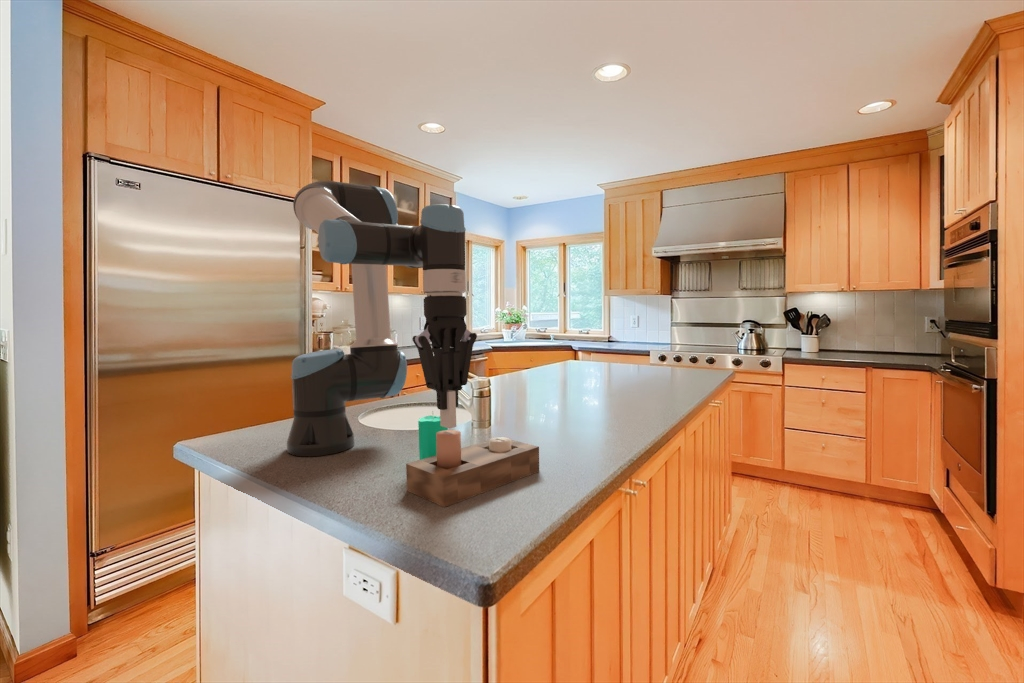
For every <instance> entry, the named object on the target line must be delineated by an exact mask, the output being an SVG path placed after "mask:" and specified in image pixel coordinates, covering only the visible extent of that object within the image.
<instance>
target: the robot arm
mask: <svg viewBox="0 0 1024 683" xmlns="http://www.w3.org/2000/svg"><path fill="white" fill-rule="evenodd" d="M395 200H396V199H395V197H394V196H393V194H392V193H391V192H390V191H389V190H388V189H387V188H383V187H379V186H375V185H371V184H370V185H367V184H358V183H350V182H342V181H336V180H335V181H333V180H320V181H319V180H318V181H313V182H311V183H309V184H306V185H305V186H303V187H302V188H300V189H299V190H298V191H297V193H296V194H295V196H294V198H293V203H292V205H293V212H294V215H295V217H296V218H297V219H298V221H299V222H300V223H301V224H302V225H303V226H304V227H306V228H307V229H310V230H312V231H315V232H316V234H317V236H318V244H317V245H318V251H319V252H320V253H319V254H320V257H321V259H322V260H323V261H325V262H326V263H333V264H334V263H335V264H340V265H351V277H352V279H351V280H352V296H353V310H354V326H355V327H354V330H355V341H354V342H353V343H352V344H351V345H350V347H349V350H350V353H349V354H345V352H344V350H343V349H341V348H331V349H325V350H316V351H312V352H308V353H304V354H300V355H298V356H296V357H295V358H294V359H293V360H292V363H291V375H290V378H291V382H292V385H291V386H292V407H293V408H292V409H293V420H292V424H291V427H290V431H289V435H288V437H287V440H286V452H287V453H288V454H289V453H290V454H289V455H291V454H292V456H295V455H296V456H297V457H320V456H328V455H332V454H337V453H341V452H344V451H347V450H349V449H351V448H353V447H354V446H355V435H354V432H353V429H352V427H351V424H350V422H349V419H348V417H347V414H346V403H347V402H354V401H356V402H357V401H362V400H363V401H364V400H365V401H366V400H371V399H372V400H373V399H386V398H387V397H395V396H397V395H398V394H400V393H402V392H401V391H402V390H403V388H404V387H405V383H406V380H407V375H408V363H407V359H406V354H405V353H404V352H403V351H401V350H399V348H398V344H397V342H396V341H395V340H393V338H392V336H391V321H390V320H391V319H390V303H389V301H390V300H389V287H388V286H389V285H388V270H387V266H399V267H400V266H402V267H404V266H405V267H406V268H411V269H414V268H416V269H422V293H424V294H426V296H424V298H423V316H424V317H425V323H424V327H423V331H422V332H420V334H418V335H413V336H412V342H413V344H414V345H415V347H416V349H417V352H418V356H419V359H420V364H421V369H422V373H423V376H424V382H425V385H426V389H431V390H433V391H435V392H436V408H437V409H438V410H439V417H440V426H442V427H446V428H448V429H453V428H457V408H458V407H459V391H462V390H463V386H466V385H467V384H468V378H469V373H470V366H471V362H472V361H471V360H472V355H473V349H474V344H475V342H476V339H477V337H478V334H477V333H476V332H471V331H469V329H467V324H466V321H465V317H466V315H467V314H468V313H467V310H468V309H467V298H466V296H465V295H464V296H463V294H465V293H466V292H467V280H466V276H467V275H466V273H467V272H466V227H465V216H464V211H463V209H462V208H461V207H460V206H457V205H453V204H445V203H444V204H443V203H442V204H441V203H437V204H429V205H426V206H424V207H423V208H422V209H421V216H420V220H419V222H420V225H416V226H415V225H403V224H398V221H399V213H398V212H399V211H398V207H397V203H396V201H395ZM296 456H295V457H296Z"/></svg>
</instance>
